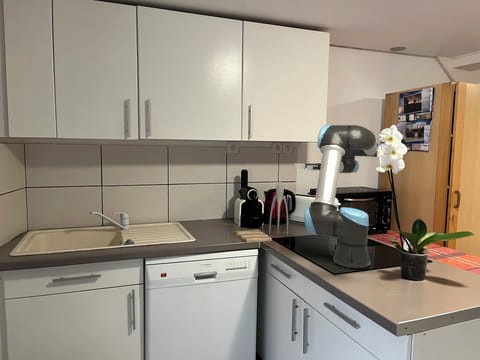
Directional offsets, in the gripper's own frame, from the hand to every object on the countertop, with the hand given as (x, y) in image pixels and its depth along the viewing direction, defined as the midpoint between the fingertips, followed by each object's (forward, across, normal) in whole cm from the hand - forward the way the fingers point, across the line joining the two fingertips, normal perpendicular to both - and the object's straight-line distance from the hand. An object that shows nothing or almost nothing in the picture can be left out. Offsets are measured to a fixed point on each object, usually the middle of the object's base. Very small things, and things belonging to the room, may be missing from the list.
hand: (300, 166), depth 194 cm
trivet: (+28, 0, -38) cm, 47 cm away
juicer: (+11, 0, -38) cm, 40 cm away
